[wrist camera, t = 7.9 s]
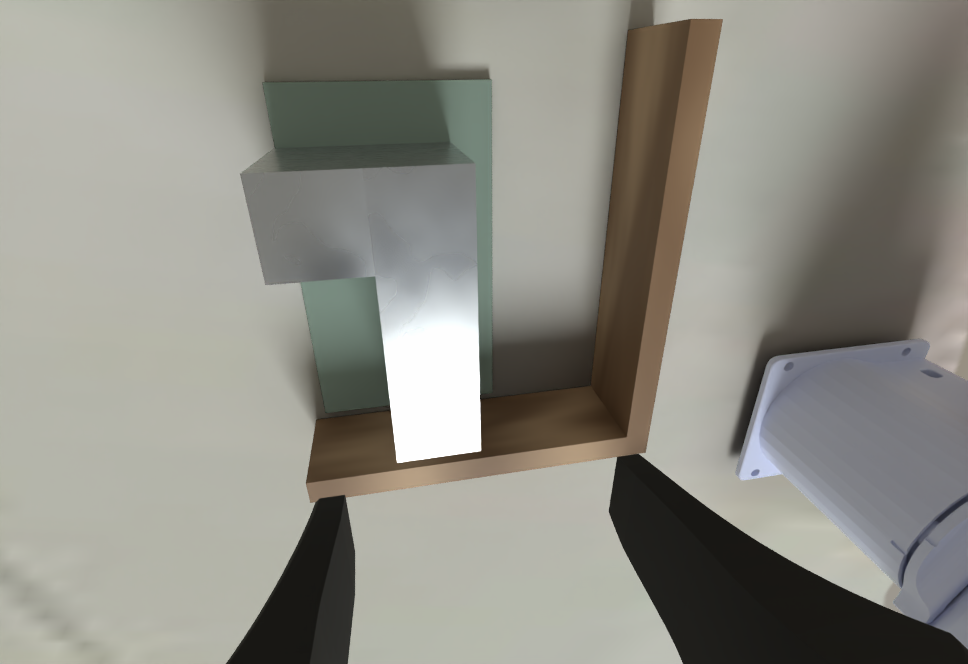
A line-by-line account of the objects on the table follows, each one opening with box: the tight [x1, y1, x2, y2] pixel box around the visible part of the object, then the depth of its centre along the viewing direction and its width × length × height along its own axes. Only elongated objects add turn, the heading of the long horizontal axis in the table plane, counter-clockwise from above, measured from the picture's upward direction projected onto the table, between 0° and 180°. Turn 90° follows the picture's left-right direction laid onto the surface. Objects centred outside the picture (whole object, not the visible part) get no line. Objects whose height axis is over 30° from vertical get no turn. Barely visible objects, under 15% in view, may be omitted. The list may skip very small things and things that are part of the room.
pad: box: [262, 79, 492, 413], centre depth 20 cm, size 8×13×1 cm, turn 1°
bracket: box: [240, 142, 481, 463], centre depth 17 cm, size 10×6×5 cm, turn 1°
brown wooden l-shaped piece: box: [306, 19, 723, 503], centre depth 19 cm, size 14×16×4 cm
